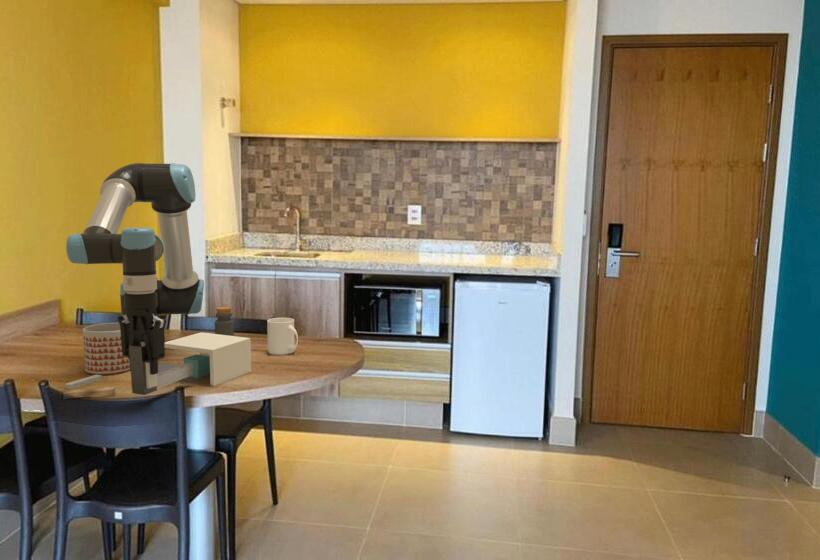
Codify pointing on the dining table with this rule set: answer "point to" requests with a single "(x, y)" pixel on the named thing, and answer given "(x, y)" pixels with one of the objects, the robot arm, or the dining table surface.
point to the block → (199, 365)
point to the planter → (104, 350)
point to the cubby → (218, 353)
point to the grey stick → (83, 381)
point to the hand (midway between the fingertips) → (144, 385)
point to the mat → (166, 366)
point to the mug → (281, 336)
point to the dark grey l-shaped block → (163, 378)
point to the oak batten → (93, 392)
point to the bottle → (224, 321)
